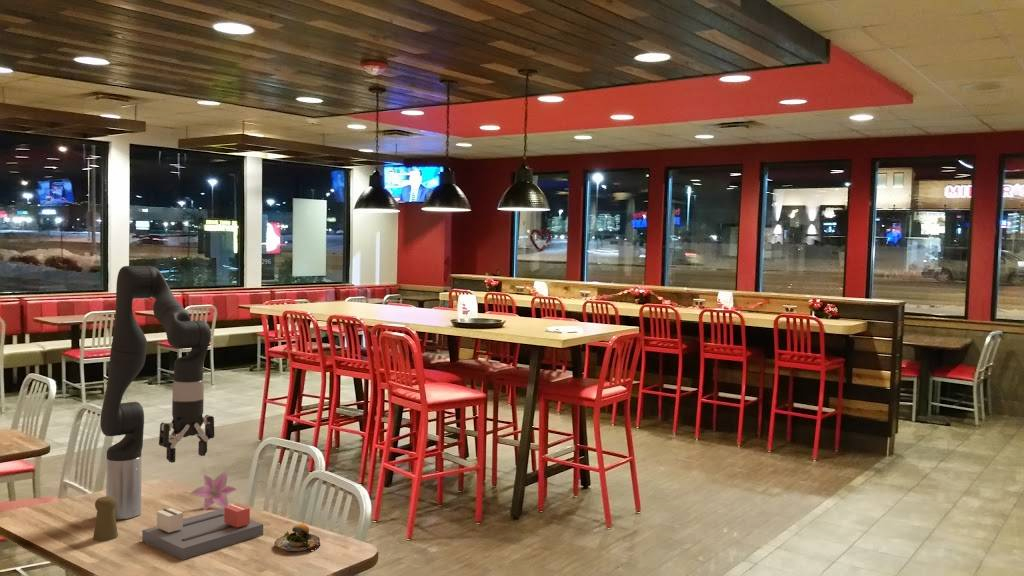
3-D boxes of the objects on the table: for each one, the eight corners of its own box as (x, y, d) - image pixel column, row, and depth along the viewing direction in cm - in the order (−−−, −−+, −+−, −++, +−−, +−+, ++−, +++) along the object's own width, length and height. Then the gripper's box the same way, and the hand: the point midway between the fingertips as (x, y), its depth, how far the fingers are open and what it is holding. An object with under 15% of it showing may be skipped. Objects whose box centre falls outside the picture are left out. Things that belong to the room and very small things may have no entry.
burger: (266, 546, 212) (266, 519, 212) (304, 536, 221) (304, 509, 220) (290, 559, 204) (290, 531, 204) (329, 547, 213) (329, 520, 212)
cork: (107, 542, 212) (107, 501, 211) (87, 540, 213) (88, 499, 212) (122, 534, 218) (123, 495, 217) (103, 532, 219) (103, 493, 218)
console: (142, 541, 213) (142, 529, 213) (222, 518, 232) (222, 507, 232) (182, 560, 201) (182, 547, 201) (263, 534, 220) (263, 523, 220)
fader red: (224, 522, 219) (224, 506, 219) (237, 519, 222) (237, 502, 222) (236, 527, 216) (237, 511, 215) (249, 523, 219) (249, 507, 219)
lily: (185, 511, 241) (188, 488, 237) (205, 486, 251) (208, 464, 247) (221, 524, 241) (225, 502, 236) (240, 499, 251) (244, 477, 247)
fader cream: (156, 527, 214) (157, 510, 214) (170, 523, 217) (171, 507, 217) (168, 532, 210) (168, 515, 210) (182, 528, 214) (182, 512, 213)
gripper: (204, 391, 213) (203, 450, 214) (154, 398, 202) (153, 461, 203) (220, 395, 209) (219, 456, 210) (170, 403, 197) (169, 467, 198)
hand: (186, 458), depth 206 cm, fingers open, 8 cm apart
